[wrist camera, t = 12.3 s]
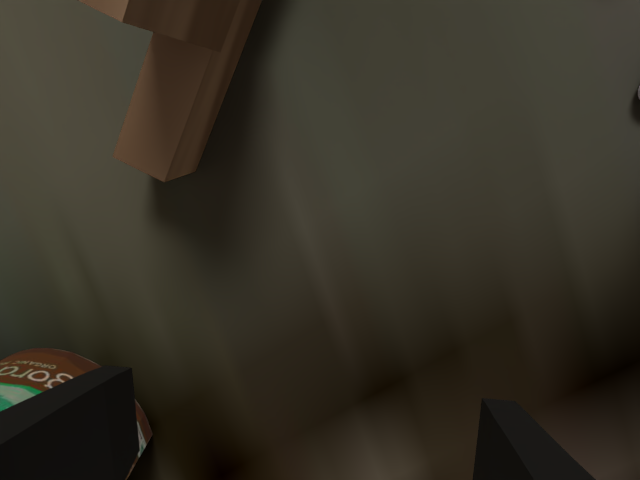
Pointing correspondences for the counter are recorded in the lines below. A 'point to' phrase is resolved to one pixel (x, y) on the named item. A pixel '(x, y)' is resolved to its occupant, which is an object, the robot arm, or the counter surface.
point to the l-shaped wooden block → (179, 78)
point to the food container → (51, 380)
